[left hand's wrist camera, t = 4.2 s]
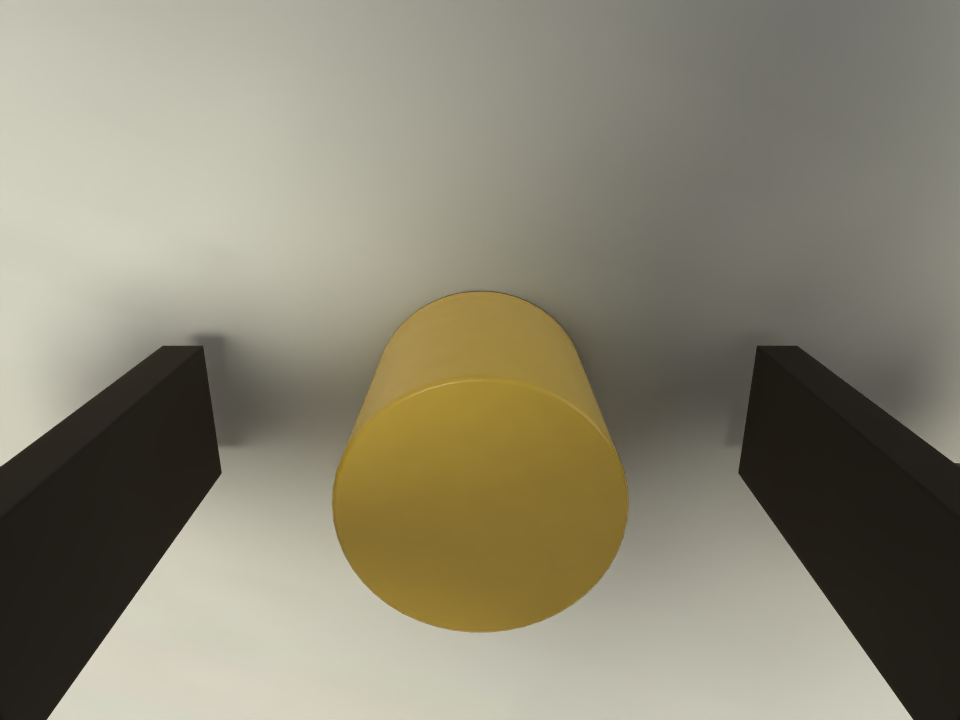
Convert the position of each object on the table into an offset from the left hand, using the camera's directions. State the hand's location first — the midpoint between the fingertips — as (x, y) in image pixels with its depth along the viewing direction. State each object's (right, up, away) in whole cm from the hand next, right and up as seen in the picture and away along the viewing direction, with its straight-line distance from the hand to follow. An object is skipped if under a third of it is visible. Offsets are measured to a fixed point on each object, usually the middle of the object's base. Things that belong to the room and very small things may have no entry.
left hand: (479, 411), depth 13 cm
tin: (0, 0, +1) cm, 1 cm away
